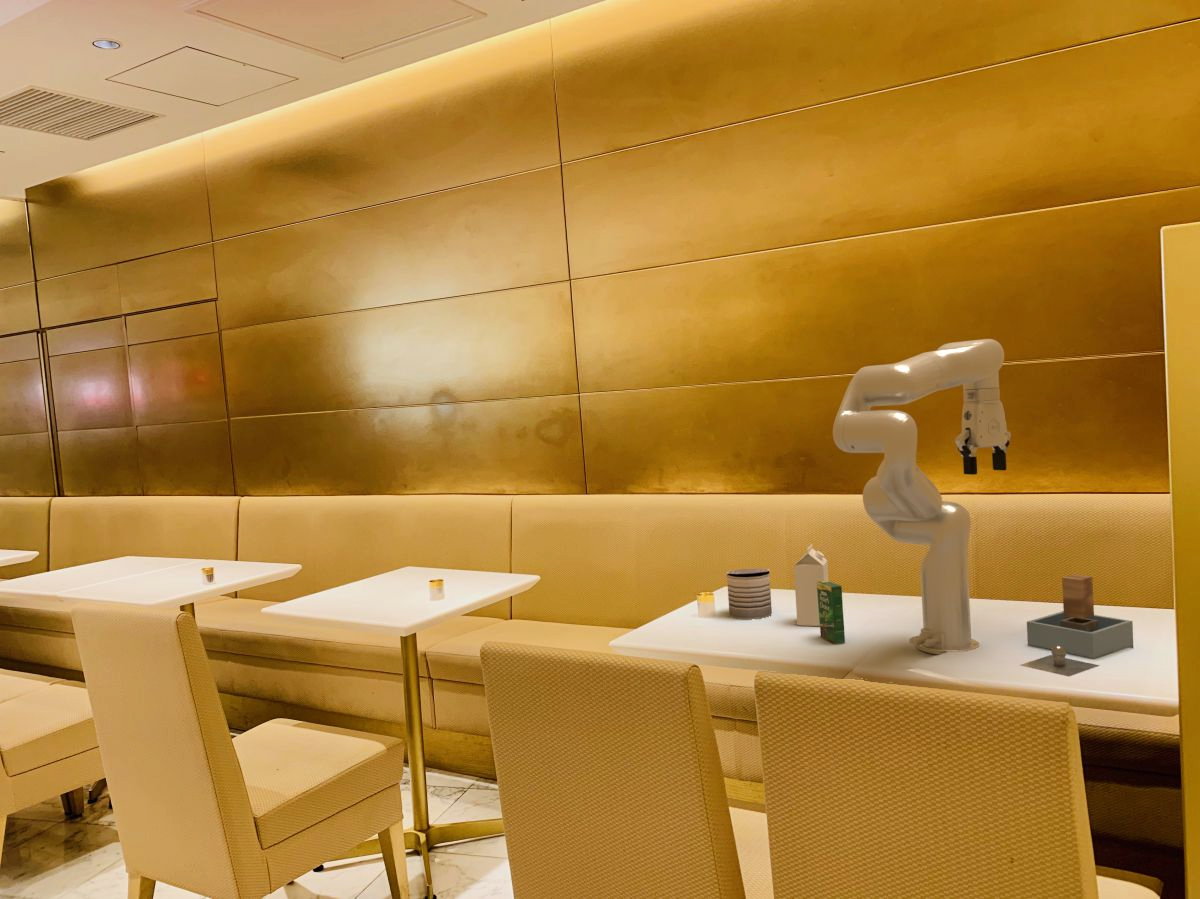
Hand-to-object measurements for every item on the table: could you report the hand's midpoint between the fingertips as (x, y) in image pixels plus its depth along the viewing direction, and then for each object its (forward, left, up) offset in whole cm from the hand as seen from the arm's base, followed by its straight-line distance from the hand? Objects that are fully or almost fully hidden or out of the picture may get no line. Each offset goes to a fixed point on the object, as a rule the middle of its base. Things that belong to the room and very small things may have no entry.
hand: (985, 472), depth 205 cm
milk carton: (-24, +33, -36) cm, 54 cm away
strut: (-3, -23, -35) cm, 41 cm away
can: (-29, +51, -36) cm, 69 cm away
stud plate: (-18, -27, -36) cm, 49 cm away
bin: (-3, -22, -36) cm, 42 cm away
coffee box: (-32, +19, -36) cm, 52 cm away
